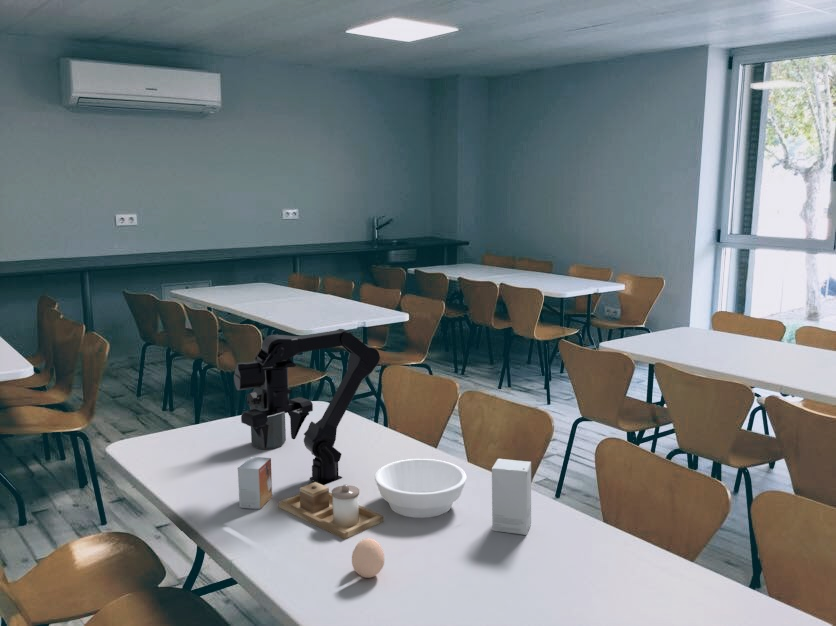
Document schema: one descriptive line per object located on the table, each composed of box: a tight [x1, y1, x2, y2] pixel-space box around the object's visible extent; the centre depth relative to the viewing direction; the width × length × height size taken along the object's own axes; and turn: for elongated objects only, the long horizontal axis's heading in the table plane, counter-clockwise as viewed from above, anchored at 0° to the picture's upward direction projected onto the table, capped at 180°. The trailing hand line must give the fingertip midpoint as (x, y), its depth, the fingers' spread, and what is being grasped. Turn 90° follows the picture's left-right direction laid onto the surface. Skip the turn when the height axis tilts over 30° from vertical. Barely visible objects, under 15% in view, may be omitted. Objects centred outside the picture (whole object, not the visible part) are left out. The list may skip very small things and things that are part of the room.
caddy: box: [278, 492, 384, 540], centre depth 176 cm, size 12×24×2 cm, turn 47°
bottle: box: [249, 358, 287, 450], centre depth 223 cm, size 10×10×30 cm
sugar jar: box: [331, 484, 360, 527], centre depth 171 cm, size 6×6×9 cm
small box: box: [237, 456, 273, 510], centre depth 183 cm, size 8×6×10 cm
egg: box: [351, 537, 386, 579], centre depth 149 cm, size 7×7×8 cm
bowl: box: [374, 458, 467, 519], centre depth 181 cm, size 22×22×8 cm
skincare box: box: [491, 458, 532, 536], centre depth 169 cm, size 8×7×16 cm
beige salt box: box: [299, 481, 330, 513], centre depth 179 cm, size 5×5×5 cm
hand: (279, 443), depth 190 cm, fingers open, 9 cm apart
